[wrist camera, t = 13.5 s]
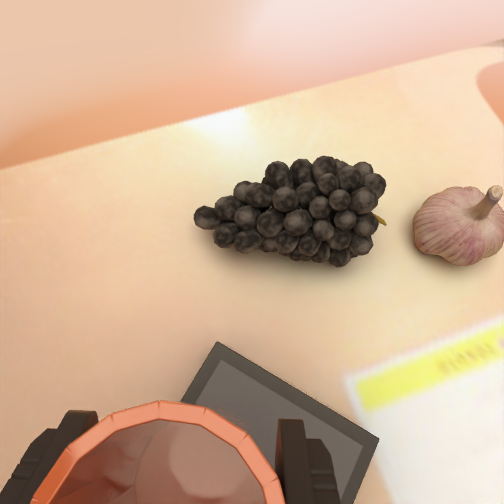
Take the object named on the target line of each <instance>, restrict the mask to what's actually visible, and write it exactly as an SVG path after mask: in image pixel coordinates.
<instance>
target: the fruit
mask: <svg viewBox="0 0 504 504" xmlns="http://www.w3.org/2000/svg"><path fill="white" fill-rule="evenodd" d="M385 188H386V182H385V179H384V178H383V177H382V176H381V175H380V174H376V173H373V168H372V166H371V165H370V164H368V163H366V162H359V163H357V164H355V165H354V166H351V165H348V164H347V163H345V162H343V161H340V160H338V159H334V158H333V157H328V156H321V157H319V158H317V159H316V160H315V161H314V163H313V165H312V164H311V163H310V162H309V161H308V160H307V159H298V160H296V161H294V163H293V164H292V165H291V167H290V170H289V168H288V166H287V165H286V164H285V163H284V162H280V161H276V162H272V163H271V164H269V165H268V167H267V169H266V170H265V177H264V178H263V180H262V183H257V182H254V183H250V182H248V181H243V182H240V183H238V184H237V185H236V186H235V188H234V193H233V195H234V196H232V195H230V196H227V197H221V198H220V199H219V200H218V201H217V202H216V203H215V208H211V207H207V206H202V207H200V208H198V209H197V210H196V212H195V214H194V221H195V224H196V226H198V227H200V228H202V229H207V230H215V231H214V233H213V239H214V243H215V244H217V245H218V246H219V247H221V248H229V247H231V246H233V245H235V248H236V249H237V251H239V252H241V253H249V252H251V251H253V250H254V249H256V248H258V247H259V248H260V249H261V250H262V251H264V252H268V251H271V252H274V251H279V253H280V254H282V255H284V256H289V257H290V258H291V259H292V260H295V261H299V260H303V261H307V260H310V259H311V258H312V260H313V261H314V262H318V263H321V262H325V261H327V260H328V259H329V262H330V264H332V265H334V266H335V267H342V266H345V265H346V264H347V263H348V262H349V261H350V258H353V257H357V256H358V255H365V254H368V253H369V251H370V250H371V248H372V247H373V242H372V239H371V235H372V234H374V232H375V231H376V230H377V228H378V225H379V223H381V224H383V225H385V226H386V222H385V221H384V220H383V219H381V218H380V217H378V216H377V215H375V214H373V213H372V212H371V211H372V210H373V209H374V208H375V207H376V206H377V204H378V199H379V198H380V197H381V196H382V195H383V193H384V191H385ZM271 206H272V207H271ZM298 206H299V207H300V208H301V209H300V208H299V207H298ZM270 207H271V208H270ZM269 208H270V209H269ZM266 210H267V211H266ZM378 222H379V223H378Z"/></svg>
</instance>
